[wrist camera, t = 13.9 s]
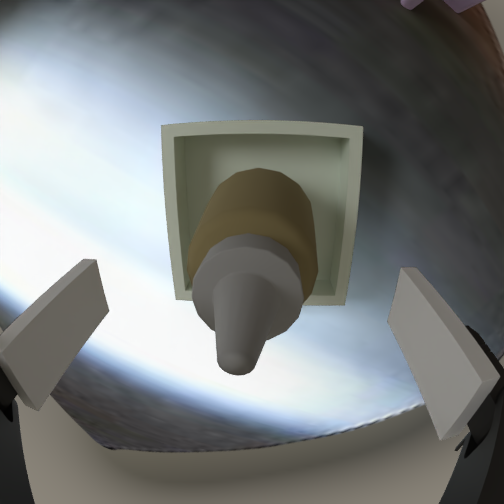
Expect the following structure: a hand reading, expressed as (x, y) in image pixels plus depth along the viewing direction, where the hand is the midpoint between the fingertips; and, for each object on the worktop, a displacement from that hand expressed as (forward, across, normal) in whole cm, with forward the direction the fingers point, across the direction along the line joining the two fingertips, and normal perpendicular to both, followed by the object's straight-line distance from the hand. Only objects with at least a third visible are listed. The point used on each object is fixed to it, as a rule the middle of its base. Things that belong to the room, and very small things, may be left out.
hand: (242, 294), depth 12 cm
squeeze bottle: (+14, 0, 0) cm, 15 cm away
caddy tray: (+15, 0, 0) cm, 15 cm away
